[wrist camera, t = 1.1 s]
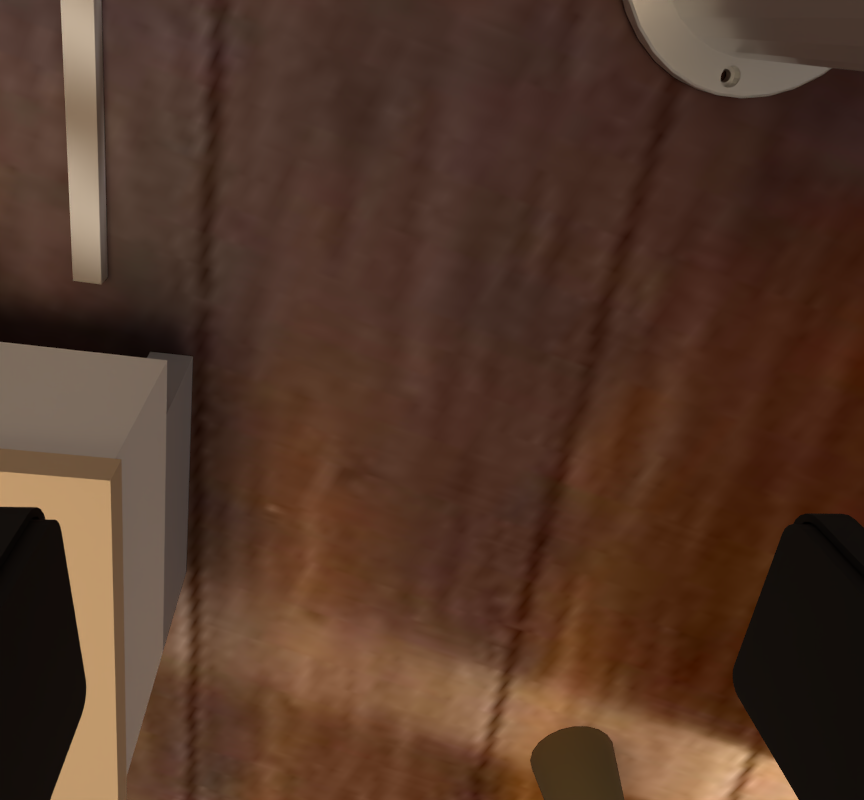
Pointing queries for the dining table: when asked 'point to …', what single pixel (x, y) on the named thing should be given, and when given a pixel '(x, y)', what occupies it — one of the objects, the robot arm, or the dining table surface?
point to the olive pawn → (577, 766)
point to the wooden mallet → (85, 137)
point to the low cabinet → (105, 523)
